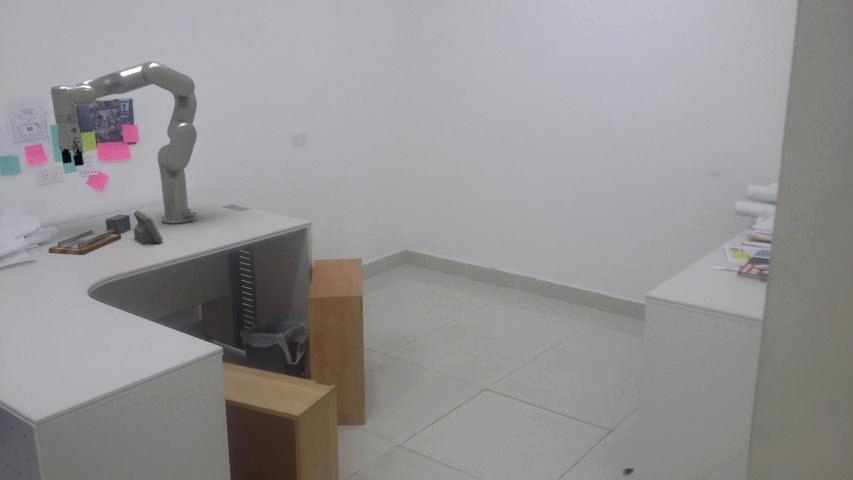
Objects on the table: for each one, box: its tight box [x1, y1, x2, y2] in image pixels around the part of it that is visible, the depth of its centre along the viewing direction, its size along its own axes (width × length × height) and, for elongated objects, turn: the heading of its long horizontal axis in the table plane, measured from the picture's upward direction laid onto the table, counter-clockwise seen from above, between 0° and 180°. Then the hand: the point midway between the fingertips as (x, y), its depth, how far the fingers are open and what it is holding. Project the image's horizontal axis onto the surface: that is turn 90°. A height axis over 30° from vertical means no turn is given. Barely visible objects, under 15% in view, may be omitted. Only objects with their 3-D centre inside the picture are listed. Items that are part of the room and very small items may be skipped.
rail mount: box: [48, 229, 122, 256], centre depth 270 cm, size 14×22×3 cm, turn 168°
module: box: [105, 214, 132, 235], centre depth 289 cm, size 5×9×6 cm, turn 168°
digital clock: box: [133, 210, 163, 245], centre depth 276 cm, size 16×9×11 cm, turn 26°
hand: (73, 164), depth 280 cm, fingers open, 9 cm apart
